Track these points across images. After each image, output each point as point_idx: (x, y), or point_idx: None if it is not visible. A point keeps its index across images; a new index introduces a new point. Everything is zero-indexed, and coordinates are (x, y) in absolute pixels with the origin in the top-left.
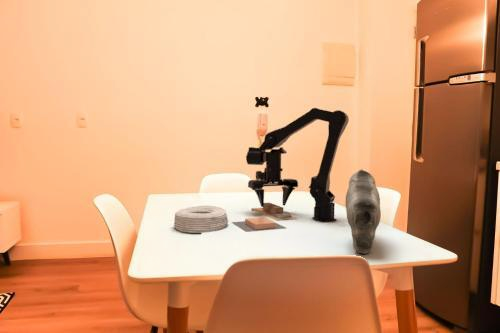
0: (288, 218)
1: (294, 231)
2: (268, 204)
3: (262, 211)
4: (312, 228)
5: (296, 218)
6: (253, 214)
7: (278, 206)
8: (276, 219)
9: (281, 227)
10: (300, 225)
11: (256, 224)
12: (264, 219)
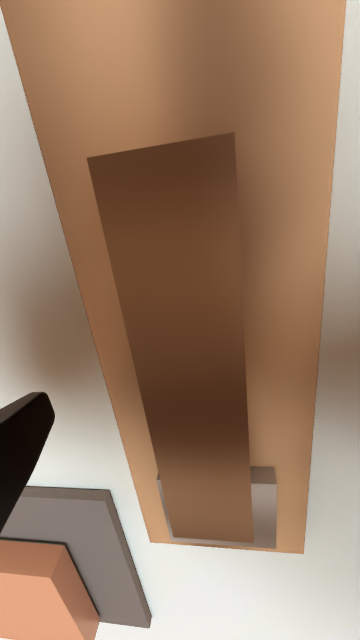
0: None
1: (174, 633)
2: (149, 333)
3: None
4: (276, 637)
5: (296, 551)
6: (20, 257)
7: (231, 486)
8: (149, 530)
9: (129, 616)
10: (251, 596)
11: (4, 636)
12: (46, 605)
